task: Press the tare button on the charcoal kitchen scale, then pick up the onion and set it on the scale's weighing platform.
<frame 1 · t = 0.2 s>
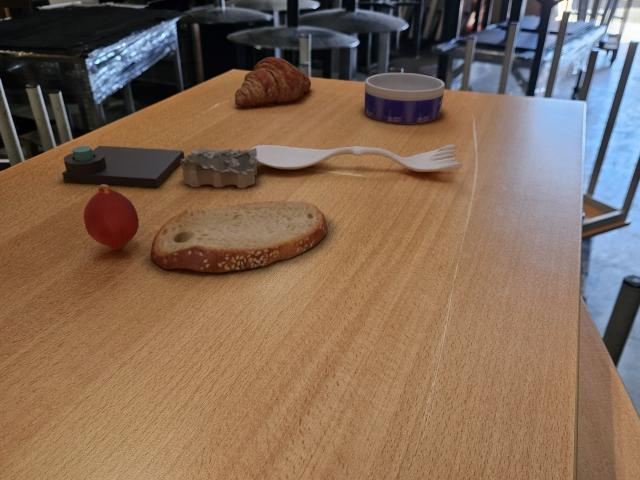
tare button: (83, 154, 83), point 3 cm above the table, slide at 0.1 cm
bread slice: (243, 243, 69), on the table
pastry: (274, 99, 121), on the table
dog bowl: (402, 114, 114), on the table
egg carton: (221, 179, 85), on the table
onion: (118, 250, 67), on the table
scale: (127, 170, 87), on the table
white plastic spork: (353, 170, 89), on the table
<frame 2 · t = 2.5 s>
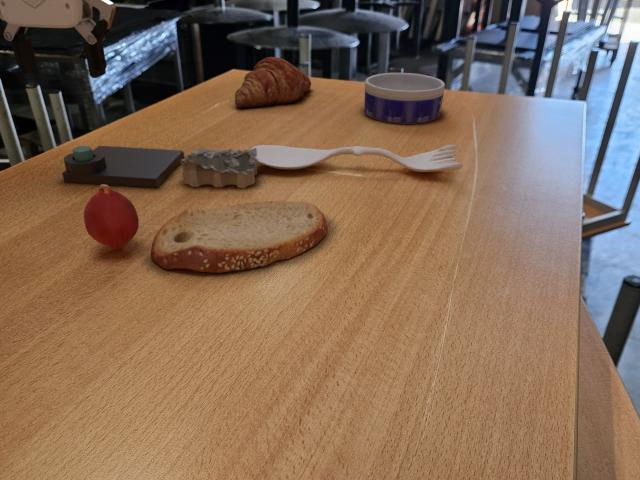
hand: (63, 73, 76), 14 cm above the table, tool pointing down, fingers open, 9 cm apart
nothing on the table moved.
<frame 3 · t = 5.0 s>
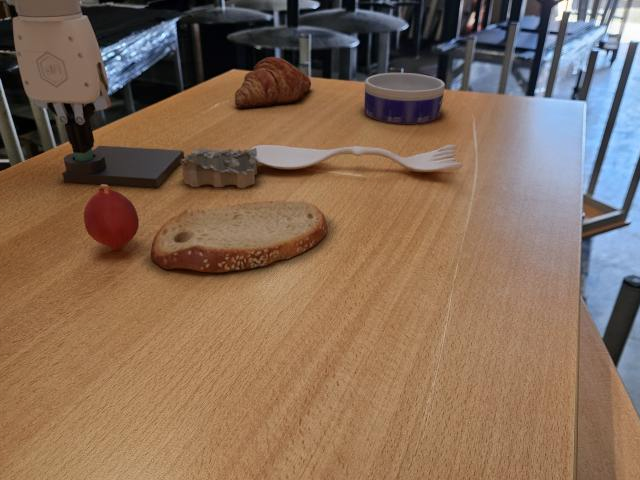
hand: (83, 149, 82), 4 cm above the table, tool pointing down, fingers closed
tare button: (83, 155, 83), point 3 cm above the table, slide at 0.0 cm, touching gripper
everything else where it was.
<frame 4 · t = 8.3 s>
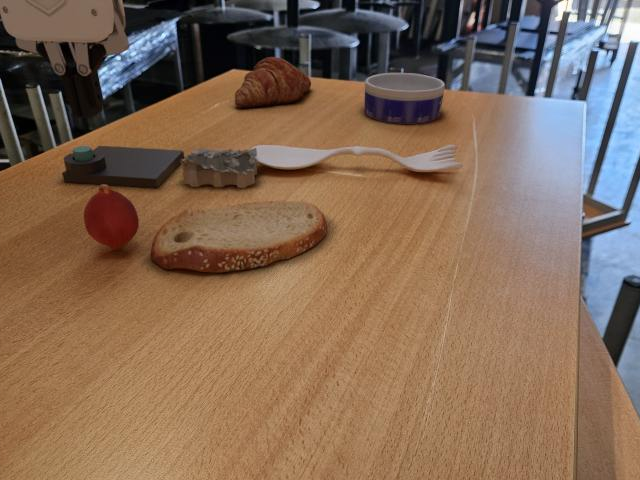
hand: (88, 114, 58), 15 cm above the table, tool pointing down, fingers closed
tare button: (83, 154, 83), point 3 cm above the table, slide at 0.1 cm
everything else where it was.
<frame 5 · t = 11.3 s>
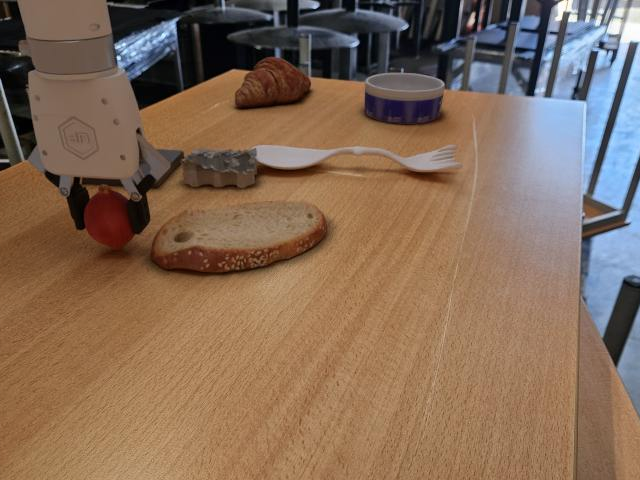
hand: (113, 225, 65), 3 cm above the table, tool pointing down, fingers closed on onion, 5 cm apart
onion: (118, 250, 67), on the table, touching gripper
everything else where it was.
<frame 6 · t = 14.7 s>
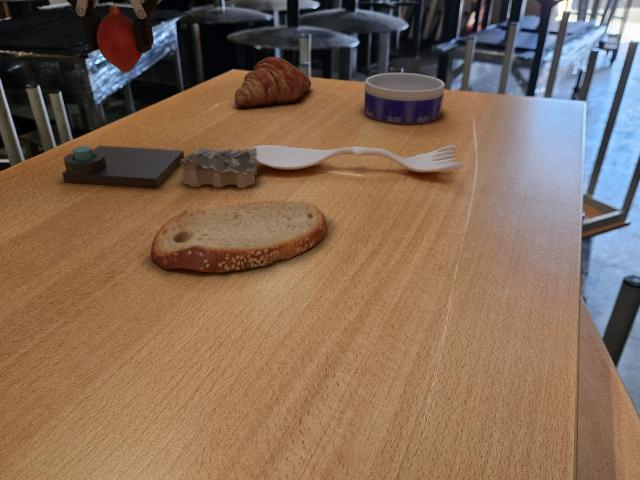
hand: (121, 48, 76), 17 cm above the table, tool pointing down, fingers closed on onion, 5 cm apart
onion: (125, 73, 78), point 14 cm above the table, touching gripper
everything else where it was.
when the fingers open (4 cm above the table, at t = 18.5 s): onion stays where it is, resting on scale.
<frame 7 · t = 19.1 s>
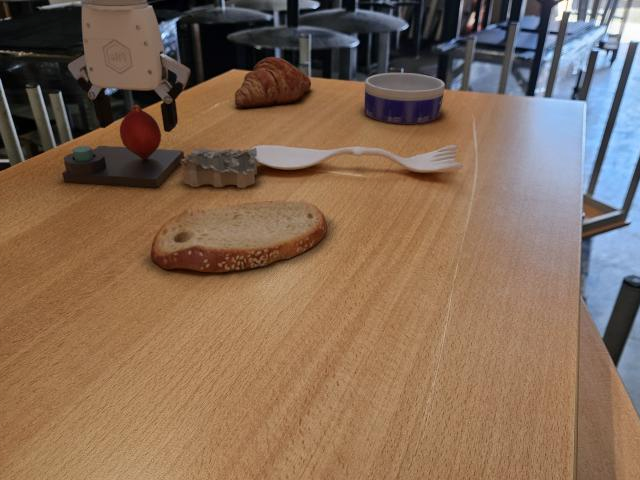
hand: (138, 127, 84), 6 cm above the table, tool pointing down, fingers open, 9 cm apart
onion: (145, 159, 87), point 1 cm above the table, touching scale
everything else where it was.
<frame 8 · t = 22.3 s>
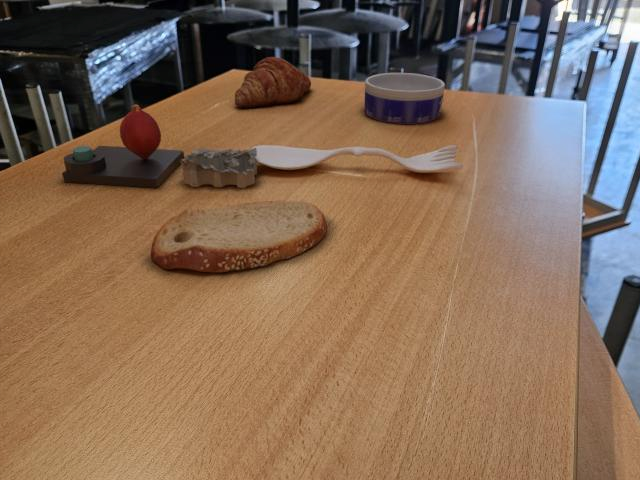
nothing on the table moved.
at the end: tare button pushed in 0.9 cm at the most during the clip, back to where it started at the end; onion inside the target area on the scale (2.8 cm from its centre), point 1.2 cm above the scale's base; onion touching scale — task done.
